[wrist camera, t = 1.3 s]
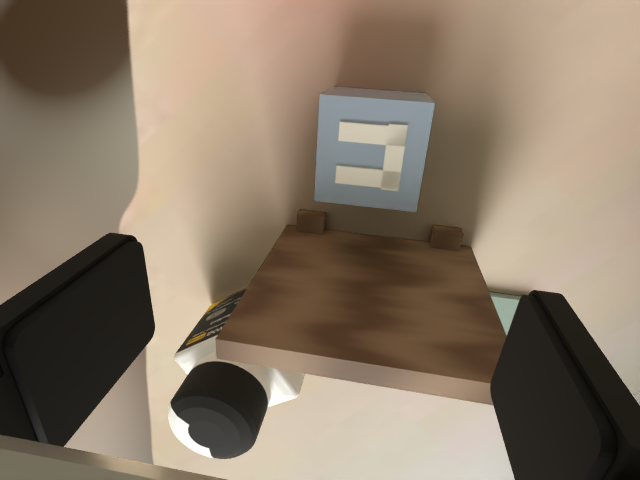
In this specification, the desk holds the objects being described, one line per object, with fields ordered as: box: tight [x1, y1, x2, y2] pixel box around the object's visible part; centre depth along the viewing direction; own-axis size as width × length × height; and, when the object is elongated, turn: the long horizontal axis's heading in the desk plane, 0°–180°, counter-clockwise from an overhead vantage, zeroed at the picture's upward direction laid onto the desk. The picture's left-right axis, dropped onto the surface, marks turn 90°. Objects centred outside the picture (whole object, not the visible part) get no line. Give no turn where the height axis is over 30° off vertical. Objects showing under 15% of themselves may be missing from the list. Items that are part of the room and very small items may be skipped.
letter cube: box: [314, 86, 435, 212], centre depth 25 cm, size 6×6×6 cm
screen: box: [215, 210, 507, 405], centre depth 24 cm, size 14×4×14 cm, turn 87°
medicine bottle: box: [168, 288, 305, 459], centre depth 30 cm, size 7×7×12 cm
